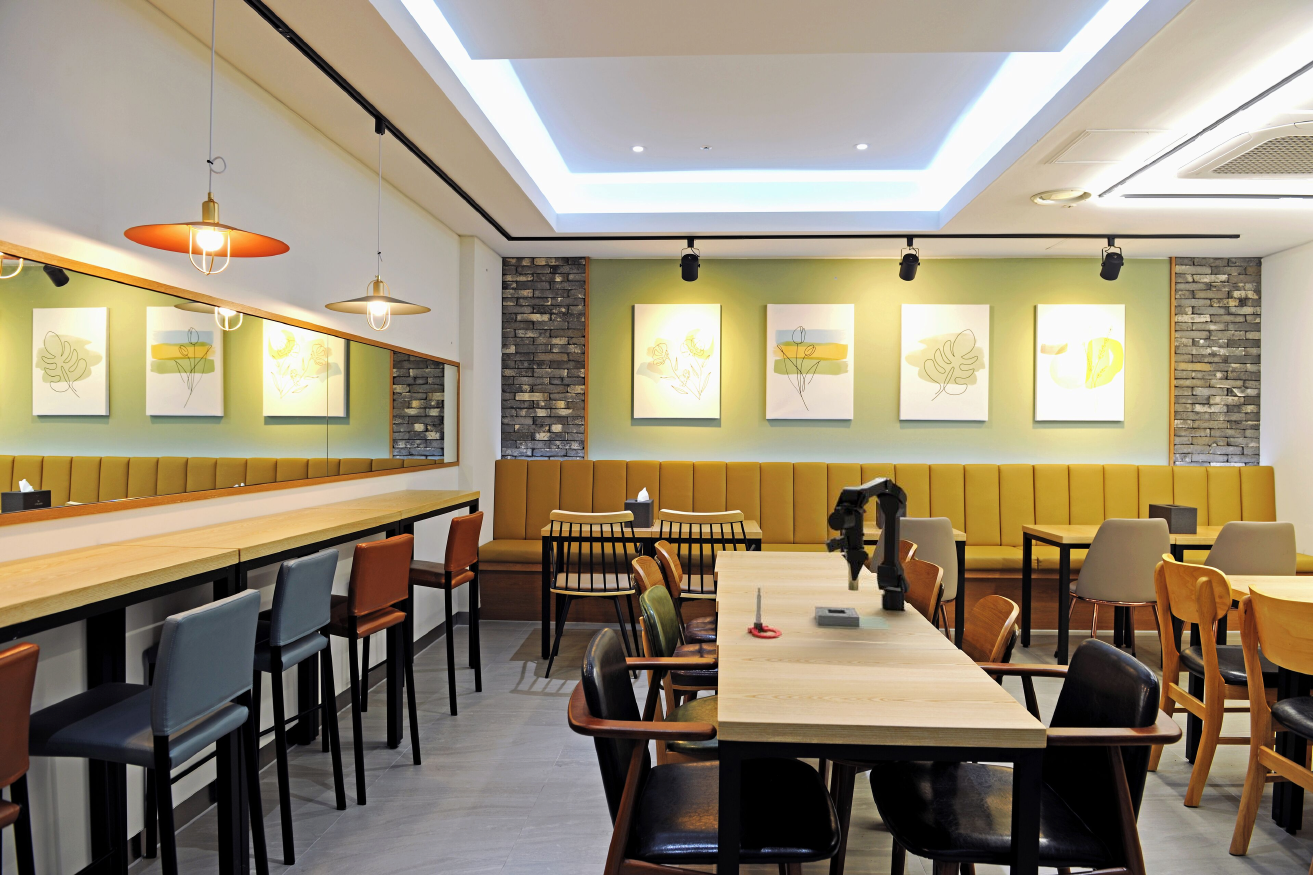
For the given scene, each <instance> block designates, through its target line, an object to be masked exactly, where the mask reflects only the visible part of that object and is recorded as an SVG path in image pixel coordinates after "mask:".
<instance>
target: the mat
mask: <svg viewBox="0 0 1313 875" xmlns="http://www.w3.org/2000/svg"><path fill="white" fill-rule="evenodd" d="M815 620H816V619H815ZM816 622H817V620H816ZM817 626H818V627H819V628H834V629H835V628H837V629H838V628H840V629H862V630H863V629H865V630H886V631H888V630H889V631H892V628H891V627H890V625H889V623H887V620H886V619H885V618H884V617H883V616H881V617H880V616H859V627H844V626H819V625H818V624H817Z"/></svg>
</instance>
